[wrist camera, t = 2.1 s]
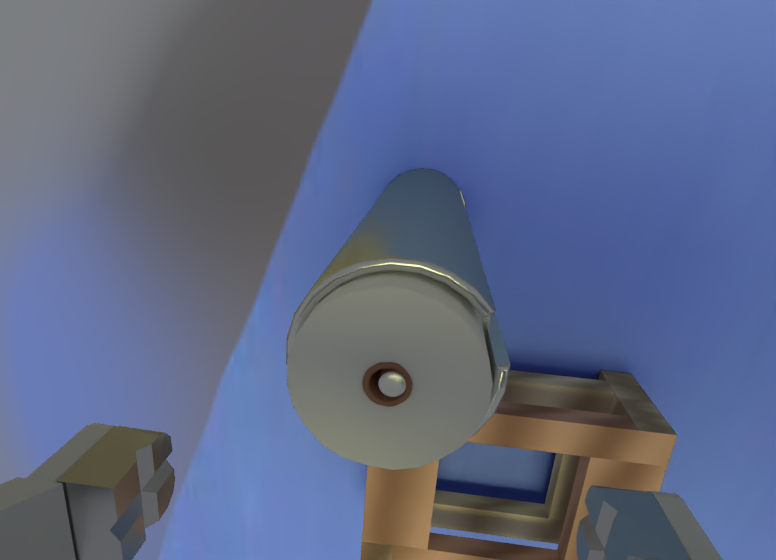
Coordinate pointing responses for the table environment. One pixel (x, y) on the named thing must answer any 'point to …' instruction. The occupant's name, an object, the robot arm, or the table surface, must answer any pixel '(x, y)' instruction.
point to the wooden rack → (534, 432)
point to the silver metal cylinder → (400, 333)
